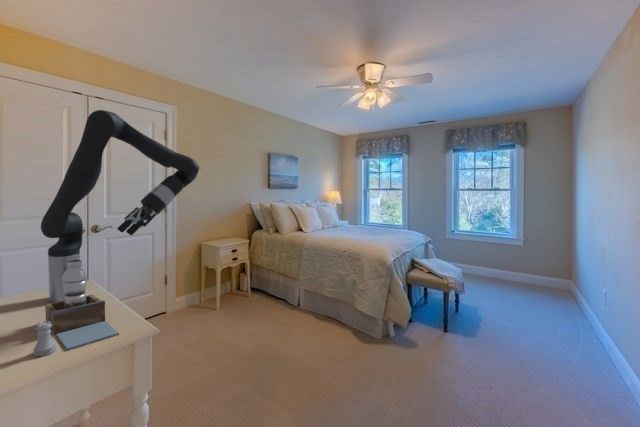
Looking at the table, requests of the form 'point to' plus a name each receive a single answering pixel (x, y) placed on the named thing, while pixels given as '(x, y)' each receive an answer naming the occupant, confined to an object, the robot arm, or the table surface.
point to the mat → (86, 335)
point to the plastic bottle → (74, 284)
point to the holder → (75, 314)
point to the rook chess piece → (44, 340)
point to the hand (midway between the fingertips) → (123, 232)
